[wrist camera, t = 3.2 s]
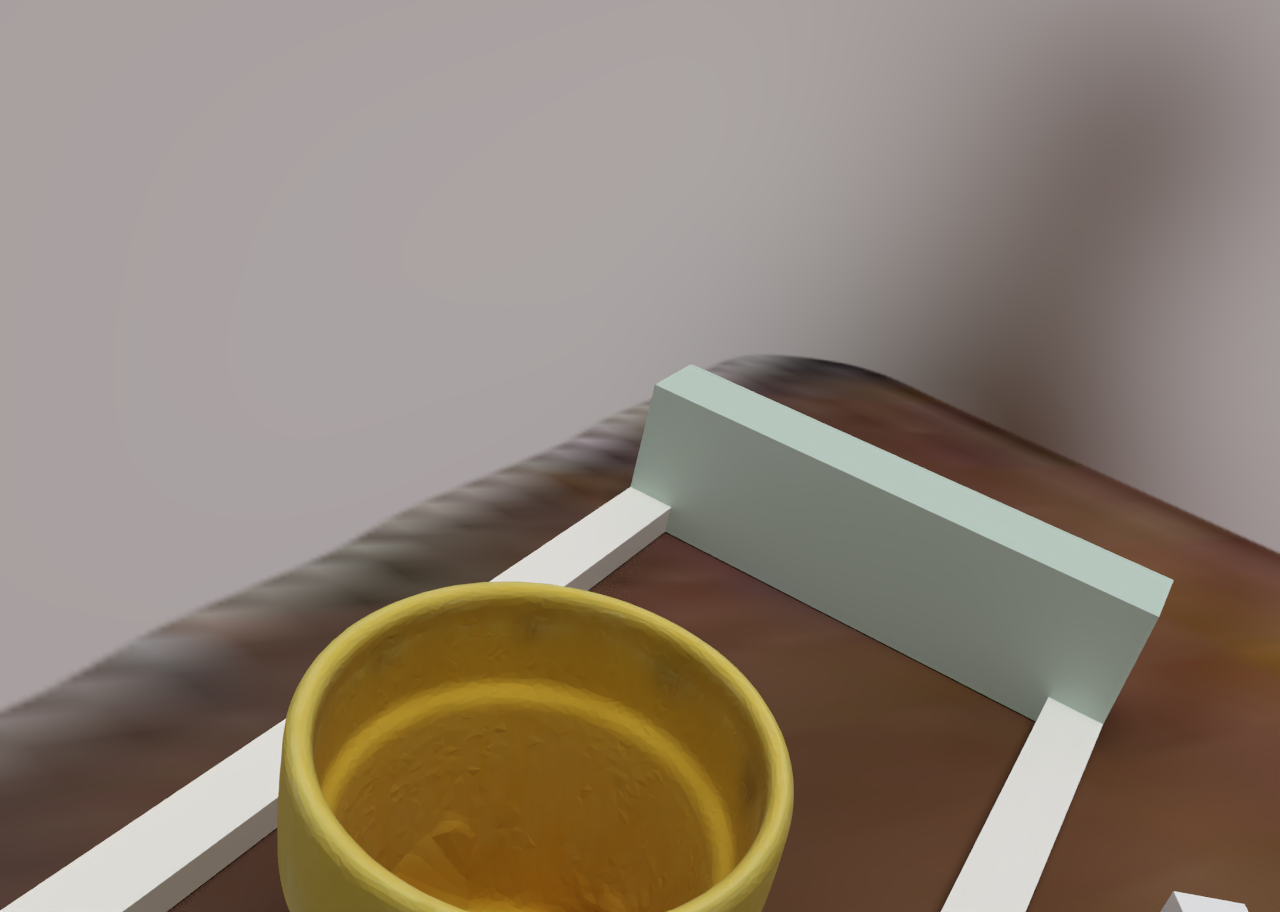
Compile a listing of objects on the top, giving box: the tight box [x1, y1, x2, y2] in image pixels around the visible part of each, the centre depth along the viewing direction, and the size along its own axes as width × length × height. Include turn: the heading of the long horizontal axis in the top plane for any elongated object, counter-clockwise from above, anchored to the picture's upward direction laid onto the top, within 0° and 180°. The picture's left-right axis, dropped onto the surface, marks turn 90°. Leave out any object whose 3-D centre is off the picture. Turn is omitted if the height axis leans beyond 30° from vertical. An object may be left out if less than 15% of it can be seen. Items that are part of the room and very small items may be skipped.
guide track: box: [0, 364, 1173, 912], centre depth 35 cm, size 32×20×6 cm, turn 148°
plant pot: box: [277, 582, 794, 912], centre depth 27 cm, size 10×10×10 cm
